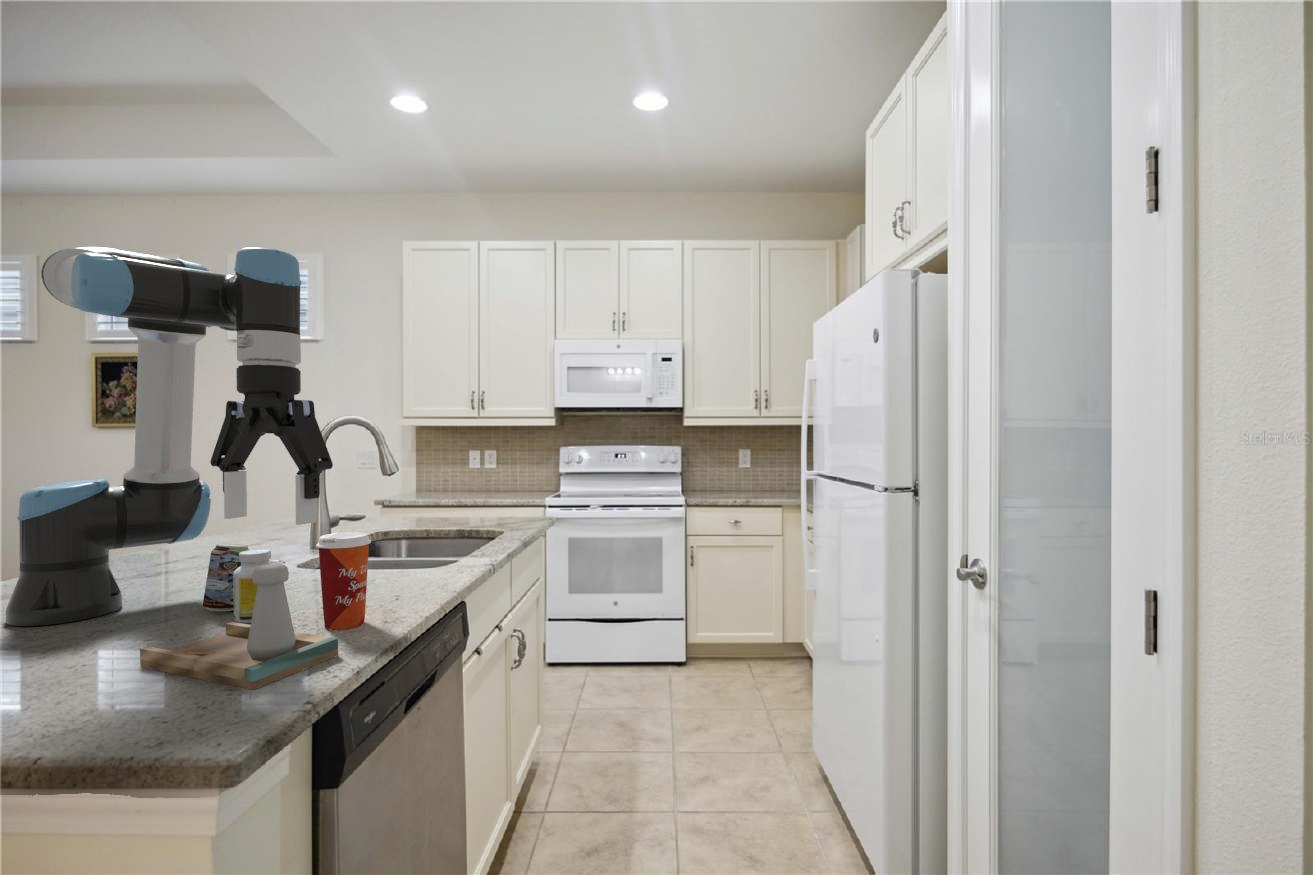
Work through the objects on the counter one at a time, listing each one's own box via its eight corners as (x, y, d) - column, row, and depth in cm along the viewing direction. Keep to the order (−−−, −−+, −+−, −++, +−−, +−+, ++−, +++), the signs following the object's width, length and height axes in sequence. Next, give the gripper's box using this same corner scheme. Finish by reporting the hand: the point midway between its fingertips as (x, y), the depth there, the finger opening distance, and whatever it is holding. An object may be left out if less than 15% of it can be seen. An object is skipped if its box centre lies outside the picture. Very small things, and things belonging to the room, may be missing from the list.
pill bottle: (282, 619, 111) (281, 551, 111) (238, 627, 106) (237, 557, 106) (272, 611, 115) (271, 546, 115) (229, 618, 111) (228, 551, 111)
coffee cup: (350, 634, 103) (349, 540, 102) (305, 630, 104) (304, 538, 104) (382, 618, 111) (381, 531, 111) (340, 616, 113) (339, 530, 112)
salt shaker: (260, 652, 91) (259, 561, 91) (303, 651, 92) (302, 560, 92) (238, 668, 85) (236, 570, 85) (283, 666, 86) (282, 569, 86)
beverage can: (194, 613, 114) (193, 546, 114) (235, 603, 121) (234, 539, 121) (218, 617, 112) (217, 548, 112) (258, 606, 119) (257, 541, 118)
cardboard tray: (140, 666, 89) (139, 648, 89) (232, 637, 101) (232, 622, 101) (253, 689, 81) (252, 670, 81) (338, 655, 93) (338, 638, 93)
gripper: (179, 365, 89) (181, 518, 89) (313, 359, 80) (314, 530, 80) (232, 370, 96) (233, 512, 96) (360, 365, 87) (361, 521, 87)
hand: (270, 520), depth 88 cm, fingers open, 13 cm apart
